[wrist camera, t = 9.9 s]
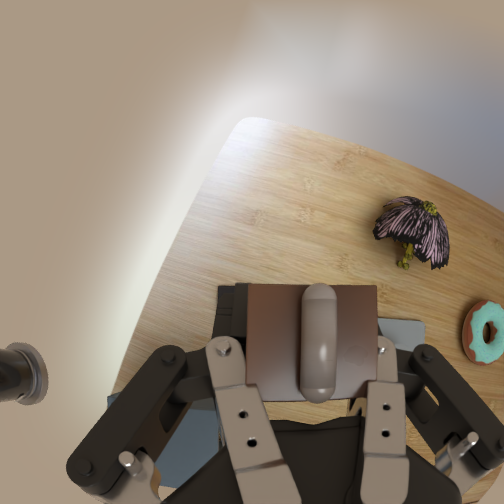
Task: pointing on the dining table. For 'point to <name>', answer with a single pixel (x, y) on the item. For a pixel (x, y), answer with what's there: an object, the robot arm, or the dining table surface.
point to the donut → (472, 338)
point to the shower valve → (403, 332)
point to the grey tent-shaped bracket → (188, 443)
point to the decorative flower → (416, 231)
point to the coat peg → (311, 341)
